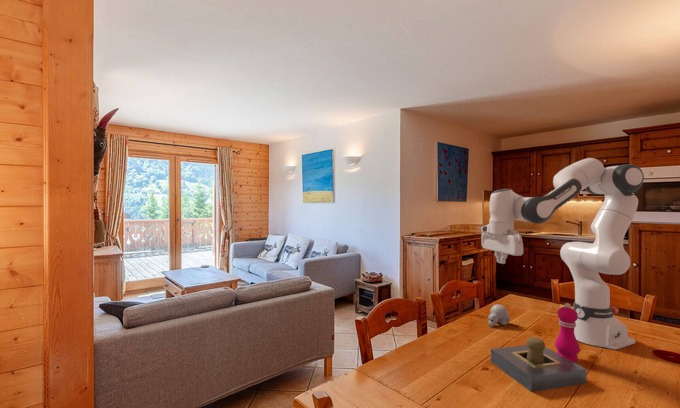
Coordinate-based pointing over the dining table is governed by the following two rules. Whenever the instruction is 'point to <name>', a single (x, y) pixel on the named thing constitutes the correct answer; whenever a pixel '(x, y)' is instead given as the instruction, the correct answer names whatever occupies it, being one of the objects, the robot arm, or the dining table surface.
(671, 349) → the dining table surface
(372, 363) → the dining table surface
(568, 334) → the pepper mill
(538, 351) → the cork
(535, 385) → the block
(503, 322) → the round bodied animal figurine
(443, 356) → the dining table surface
